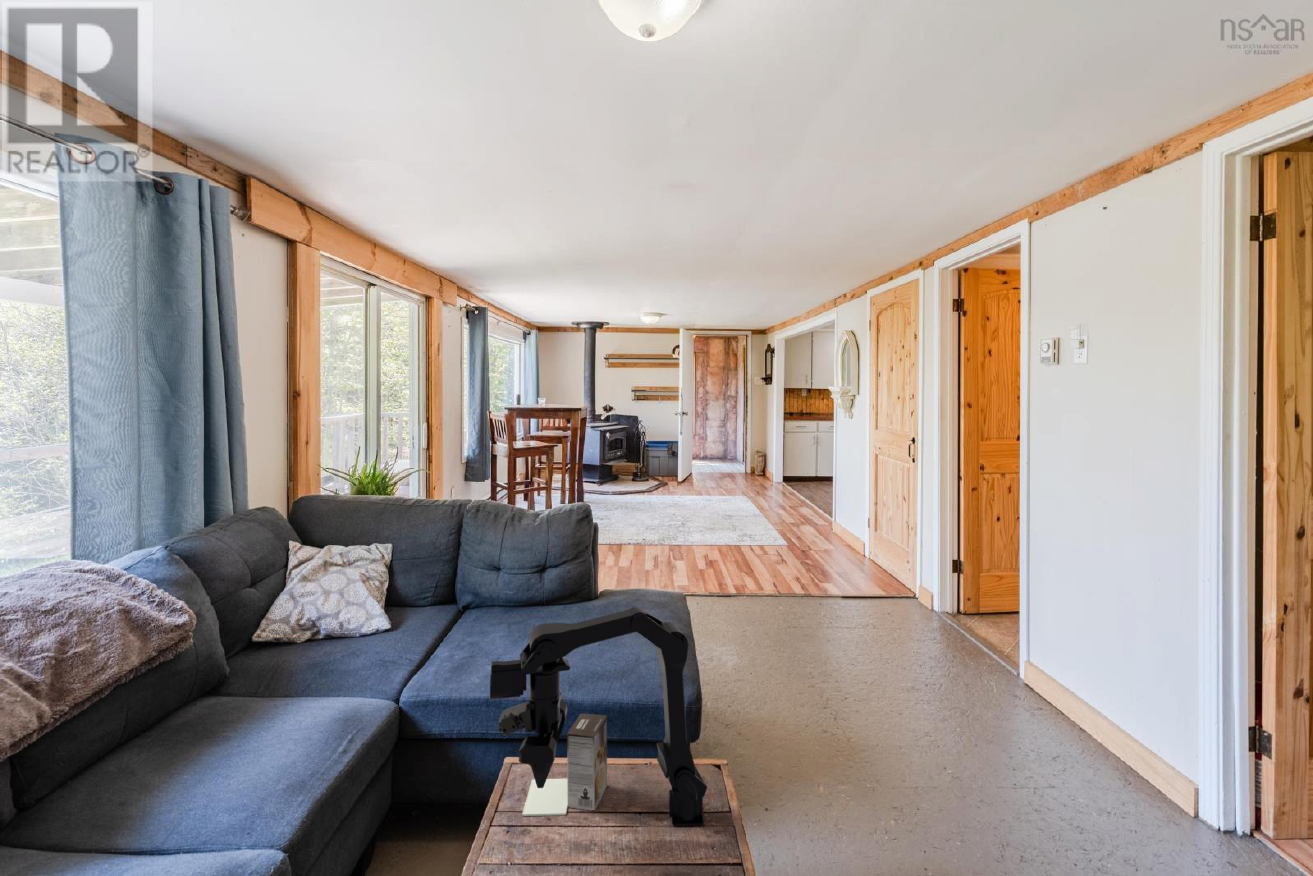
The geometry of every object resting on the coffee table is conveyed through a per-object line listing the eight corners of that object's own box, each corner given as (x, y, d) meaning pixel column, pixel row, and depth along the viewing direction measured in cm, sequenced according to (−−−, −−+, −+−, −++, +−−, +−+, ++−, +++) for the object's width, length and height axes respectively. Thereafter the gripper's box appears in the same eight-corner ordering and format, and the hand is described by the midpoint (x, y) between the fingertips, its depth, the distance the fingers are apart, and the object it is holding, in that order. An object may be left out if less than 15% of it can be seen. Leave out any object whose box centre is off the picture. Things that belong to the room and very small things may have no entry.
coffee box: (580, 782, 133) (580, 712, 132) (607, 785, 131) (608, 714, 131) (566, 808, 124) (566, 733, 123) (595, 812, 122) (595, 736, 122)
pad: (572, 780, 133) (572, 778, 133) (565, 815, 121) (565, 813, 121) (532, 781, 133) (532, 779, 133) (522, 816, 121) (522, 814, 121)
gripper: (513, 672, 122) (513, 746, 123) (489, 717, 104) (489, 804, 104) (567, 672, 122) (567, 746, 123) (553, 717, 104) (553, 804, 104)
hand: (544, 773), depth 113 cm, fingers open, 9 cm apart
